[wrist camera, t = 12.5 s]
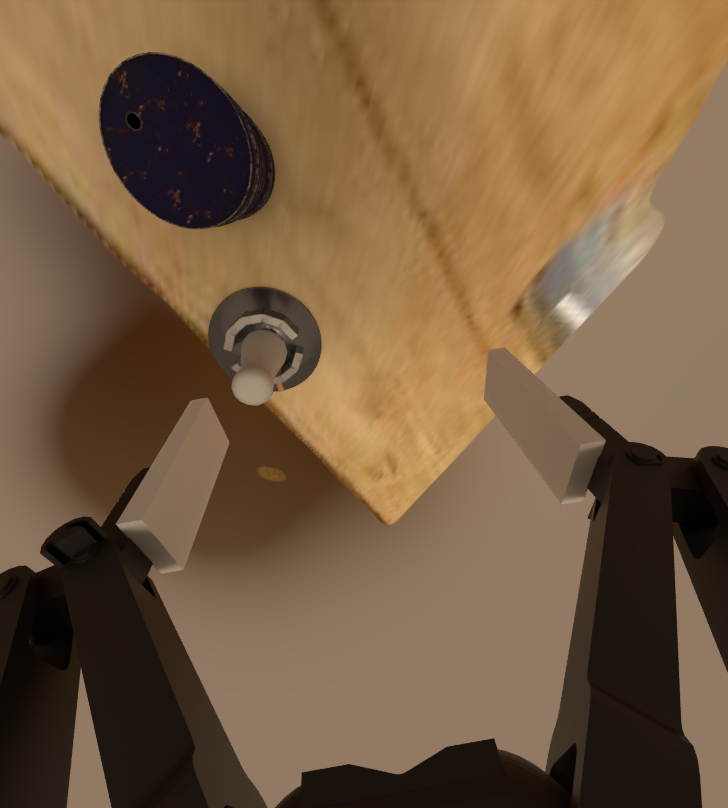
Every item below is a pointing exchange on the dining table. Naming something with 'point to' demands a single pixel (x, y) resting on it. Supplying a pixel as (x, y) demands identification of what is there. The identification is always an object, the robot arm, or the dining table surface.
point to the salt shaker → (258, 366)
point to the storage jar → (183, 143)
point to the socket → (266, 313)
